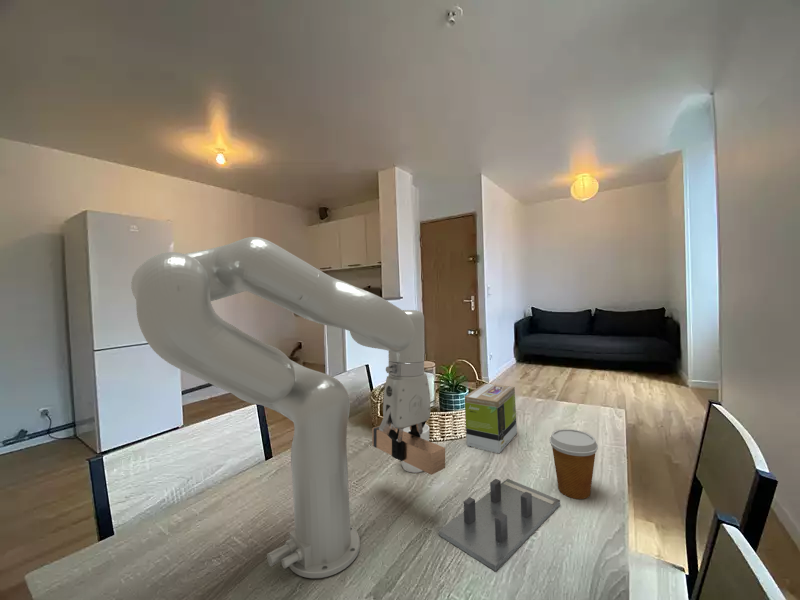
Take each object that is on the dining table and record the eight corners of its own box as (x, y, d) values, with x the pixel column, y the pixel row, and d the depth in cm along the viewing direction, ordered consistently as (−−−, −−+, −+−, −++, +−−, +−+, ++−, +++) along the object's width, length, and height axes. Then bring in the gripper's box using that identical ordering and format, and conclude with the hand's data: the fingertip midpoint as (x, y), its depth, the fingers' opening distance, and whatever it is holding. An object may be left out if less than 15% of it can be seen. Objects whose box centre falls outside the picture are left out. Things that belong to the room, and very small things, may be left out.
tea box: (486, 427, 114) (484, 381, 114) (517, 434, 108) (516, 386, 108) (465, 446, 102) (463, 394, 101) (499, 455, 96) (498, 400, 96)
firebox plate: (495, 571, 58) (495, 541, 57) (439, 535, 66) (438, 509, 66) (560, 504, 74) (559, 481, 74) (507, 482, 83) (507, 461, 83)
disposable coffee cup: (597, 509, 72) (596, 450, 72) (546, 496, 77) (545, 441, 77) (600, 485, 80) (599, 432, 80) (554, 475, 85) (553, 425, 85)
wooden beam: (445, 468, 71) (445, 447, 71) (431, 475, 68) (431, 453, 68) (385, 440, 84) (385, 423, 84) (372, 445, 81) (372, 427, 81)
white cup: (428, 475, 87) (427, 435, 87) (397, 473, 89) (395, 433, 89) (432, 459, 95) (431, 422, 95) (403, 457, 97) (401, 421, 96)
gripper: (388, 377, 67) (387, 475, 68) (445, 366, 79) (445, 449, 79) (363, 371, 73) (363, 461, 73) (420, 361, 84) (420, 439, 84)
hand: (406, 454), depth 76 cm, fingers closed on wooden beam, 4 cm apart
